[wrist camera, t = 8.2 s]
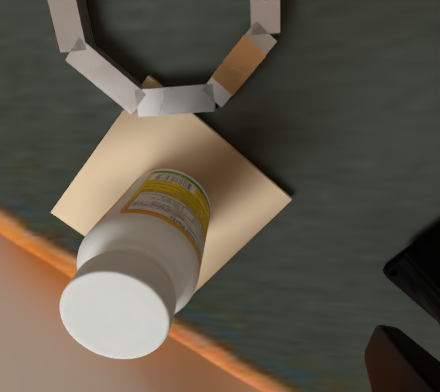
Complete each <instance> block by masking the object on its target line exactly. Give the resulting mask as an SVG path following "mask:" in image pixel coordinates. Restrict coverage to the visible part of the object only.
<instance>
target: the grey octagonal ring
mask: <svg viewBox="0 0 440 392" xmlns="http://www.w3.org/2000/svg"><path fill="white" fill-rule="evenodd" d="M48 3H49V7H50V12H51V16H52V20H53V24H54V28H55V32H56V36H57V40H58V45H59V49H60V53H69V55H68V56H67V58H66V61H67V62H68V63H69V64H70V65H72V66H73V67H74V68H75V69H77V70H78V71H79V72H80V73H81V74H83V75H84V76H85V77H86V78H88V79H89V80H90V81H91V82H92V83H94V84H95V85H96V86H97V87H99V88H100V89H101V90H102V91H103V92H105V93H106V94H107V95H108V96H110V97H111V98H112V99H113V100H114V101H116V102H117V103H118V104H119V105H120V106H122V107H123V108H124V109H125V110H127V111H128V112H129V113H130V114H131V115H132V114H134V113H136V111H137V110H138V116H139V117H145V116H158V115H172V114H186V113H199V112H213V111H215V110H216V103H217V104H218V105H219V106H220V107H221V108H222V107H223V106H224V104H225V103H226V102H227V101H228V100H229V98H230V97H231V96H233V95H234V94H235V93H236V91H237V90H238V89H239V88H240V87H241V85H242V84H243V83H244V82H245V81H246V79H247V78H248V77H249V76H250V75H251V74H252V72H253V71H254V70H255V69H256V68H257V66H258V65H259V64H260V63H261V62H262V60H263V59H264V58H265V57H266V54H267V53H268V52H269V51H270V49H271V48H272V47H273V46H274V45H275V43H276V42H277V41H276V40H275V39H274V38H273V37H272V36H274V35H278V34H279V33H280V0H249V12H250V29H249V31H248V32H247V33H246V34H245V35H243V37H242V38H241V39H240V41H239V42H238V43H237V44H236V46H235V47H234V48H233V49H232V51H231V52H230V53H229V54H228V56H227V57H226V58H225V60H224V61H223V62H222V63H221V65H220V66H219V67H218V68H217V70H216V71H215V72H214V73H213V75H212V76H211V79H210V80H209V81H208V82H207V83H206V84H194V85H181V86H169V87H161V88H148V89H144V88H143V87H142V86H141V85H142V84H141V83H140V82H139V81H138V80H136V79H135V78H134V77H133V76H132V75H131V74H129V73H128V72H127V71H126V70H125V69H124V68H122V67H121V66H120V65H119V64H118V63H116V62H115V61H114V60H113V59H112V58H111V57H109V56H108V55H107V54H106V53H105V52H104V51H102V50H101V49H100V48H99V47H98V46H97V45H95V42H94V37H93V33H92V28H91V23H90V18H89V13H88V8H87V3H86V0H48Z"/></svg>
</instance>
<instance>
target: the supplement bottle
mask: <svg viewBox="0 0 440 392" xmlns="http://www.w3.org/2000/svg"><path fill="white" fill-rule="evenodd" d="M210 213H211V207H210V202H209V199H208V196H207V194H206V192H205V190H204V189H203V187H202V186H201V185H200V184H199V183H198V182H197V181H196V180H195V179H194V178H192V177H191V176H189V175H187V174H186V173H183V172H181V171H178V170H173V169H157V170H153V171H150V172H148V173H146V174H144V175H142V176H141V177H139V178H138V179H137V180H136V181H135V182H134V183H133V184H132V185H131V186H130V187H129V188H128V190H127V191H126V192H125V193H124V194H123V195H122V196H121V197H120V198H119V200H118V201H117V202H116V203H115V204H114V205H113V206H112V207H111V208H110V209H109V210H108V212H107V213H106V214H105V215H104V216H103V217H102V218H101V219H100V220H99V221H98V222H97V223H96V224H95V225H94V227H93V228H92V229H91V230H90V231H89V232H88V234H87V235H86V236H85V238H84V240H83V241H82V243H81V246H80V248H79V252H78V256H77V272H76V274H75V275H74V277H73V278H72V279H71V281H70V282H69V283H68V285H67V286H66V288H65V290H64V291H63V293H62V296H61V300H60V313H61V318H62V321H63V323H64V325H65V327H66V329H67V330H68V332H69V333H70V334H71V335H72V337H73V338H74V339H75V340H76V341H77V342H79V343H80V344H81V345H83V346H84V347H85V348H87V349H89V350H91V351H92V352H95V353H97V354H99V355H102V356H106V357H110V358H116V359H132V358H138V357H141V356H144V355H146V354H149V353H151V352H152V351H154V350H155V349H157V348H158V347H159V346H160V345H161V344H162V343H163V341H164V340H165V338H166V337H167V335H168V333H169V330H170V327H171V324H172V320H173V316H174V314H175V313H176V312H178V311H179V310H180V309H182V308H183V307H184V306H185V305H186V304H187V303H188V301H189V300H190V298H191V297H192V295H193V294H194V291H195V289H196V287H197V283H198V280H199V275H200V269H201V264H202V258H203V253H204V248H205V242H206V237H207V231H208V226H209V221H210Z"/></svg>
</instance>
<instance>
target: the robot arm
mask: <svg viewBox="0 0 440 392" xmlns="http://www.w3.org/2000/svg"><path fill="white" fill-rule="evenodd" d="M392 270H394V272H392V273H390V272H391V271H392ZM383 272H384V274H385V275H386V277H387V278H388V279H389V280H391V281H392V282H393V283H394V284H395V285H396V286H397V287H399V288H400V289H401V290H402V291H403V292H404V293H405V294H407V295H408V296H409V297H410V298H411V299H412V300H414V301H415V302H416V303H417V304H418V305H419V306H420V307H422V308H423V309H424V310H425V311H426V312H427V313H428V314H430V315H431V316H432V317H433V318H434V319H435V320H437V322H438V323H439V324H440V225H438V226H437V227H436V228H434V229H433V230H432V231H430V232H429V233H428V234H427V235H425V236H424V237H423V238H421V239H420V240H419V241H417V242H416V243H415V244H413V245H412V246H411V247H410V248H408V249H407V250H406V251H404V252H403V253H402V254H400V255H399V256H398V257H396V258H395V259H394V260H392V261H391V262H390V263H389V264H387V265H386V266H385V267H384V269H383ZM365 364H366V368H367V372H368V377H369V381H370V385H371V389H372V392H440V362H439V361H438V360H437V359H436V358H434V357H433V356H432V355H431V354H429V353H428V352H427V351H426V350H424V349H423V348H422V347H421V346H419V345H418V344H417V343H416V342H414V341H413V340H412V339H411V338H409V337H408V336H407V335H406V334H405V333H403V332H402V331H401V330H399V329H398V328H396V327H391V326H385V325H378V326H377V327H376V328H375V330H374V332H373V334H372V336H371V339H370V341H369V343H368V345H367V348H366V350H365Z"/></svg>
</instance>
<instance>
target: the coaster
mask: <svg viewBox="0 0 440 392" xmlns="http://www.w3.org/2000/svg"><path fill="white" fill-rule="evenodd" d="M141 86H142V87H143V88H144V89H148V88H161V87H163V86H162V85H161V84H160V83H159V82H158V81H157V80H155V79H154V78H153V77H152V76H151V75H148V76H147V78H146V79H145V81H144V82H143V83H142V85H141ZM157 169H173V170H178V171H181V172H183V173H186V174H187V175H189V176H191V177H192V178H194V179H195V180H196V181H197V182H198V183H199V184H200V185H201V186H202V187H203V189H204V190H205V192H206V194H207V196H208V199H209V202H210V207H211V213H210V221H209V226H208V231H207V237H206V242H205V248H204V253H203V258H202V264H201V269H200V275H199V280H198V283H197V287H196V289H195V291H194V293H195V292H196V291H197V290H198V289H199V288H200V287H201V286H202V285H203V284H204V283H205V282H206V281H207V280H208V279H209V278H211V277H212V276H213V275H214V274H215V273H216V272H217V271H218V270H219V269H220V268H221V267H222V266H223V265H224V264H225V263H226V262H227V261H228V260H229V259H230V258H231V257H233V256H234V255H235V254H236V253H237V252H238V251H239V250H240V249H241V248H242V247H243V246H244V245H245V244H246V243H247V242H248V241H249V240H250V239H251V238H252V237H253V236H255V235H256V234H257V233H258V232H259V231H260V230H261V229H262V228H263V227H264V226H265V225H266V224H267V223H268V222H269V221H270V220H271V219H272V218H273V217H274V216H276V215H277V214H278V213H279V212H280V211H281V210H282V209H283V208H284V207H285V206H286V205H287V204H288V203H289V202H290V201H291V200H292V199H291V197H290V196H289V195H288V194H287V193H286V192H285V191H283V190H282V189H281V188H280V187H279V186H278V185H277V184H275V183H274V182H273V181H272V180H271V179H270V178H268V177H267V176H266V175H265V174H264V173H263V172H262V171H260V170H259V169H258V168H257V167H256V166H255V165H253V164H252V163H251V162H250V161H249V160H248V159H247V158H245V157H244V156H243V155H242V154H241V153H240V152H238V151H237V150H236V149H235V148H234V147H233V146H232V145H230V144H229V143H228V142H227V141H226V140H225V139H223V138H222V137H221V136H220V135H219V134H218V133H217V132H215V131H214V130H213V129H212V128H211V127H210V126H208V125H207V124H206V123H205V122H204V121H203V120H202V119H200V118H199V117H198V116H197V115H196V114H195V113H186V114H172V115H158V116H145V117H139V116H138V110H137V111H136V113H134V114H132V115H131V114H130V113H129V112H128V111H127V110H125V109H124V110H123V111H122V113H121V114H120V116H119V117H118V118H117V120H116V121H115V123H114V124H113V125H112V127H111V128H110V130H109V131H108V133H107V134H106V135H105V137H104V138H103V140H102V141H101V142H100V144H99V145H98V147H97V148H96V149H95V151H94V152H93V154H92V155H91V156H90V158H89V159H88V161H87V162H86V163H85V165H84V166H83V168H82V169H81V170H80V172H79V173H78V175H77V176H76V177H75V179H74V180H73V182H72V183H71V184H70V186H69V187H68V189H67V190H66V191H65V193H64V194H63V196H62V197H61V199H60V200H59V201H58V203H57V204H56V206H55V207H54V208H53V210H52V211H51V213H52V214H53V215H55V216H56V217H58V218H59V219H61V220H62V221H64V222H65V223H66V224H68V225H69V226H71V227H72V228H74V229H75V230H77V231H78V232H79V233H81V234H82V235H84V236H86V235H87V234H88V232H89V231H90V230H91V229H92V228H93V227H94V225H95V224H96V223H97V222H98V221H99V220H100V219H101V218H102V217H103V216H104V215H105V214H106V213H107V212H108V210H109V209H110V208H111V207H112V206H113V205H114V204H115V203H116V202H117V201H118V200H119V198H120V197H121V196H122V195H123V194H124V193H125V192H126V191H127V190H128V188H129V187H130V186H131V185H132V184H133V183H134V182H135V181H136V180H137V179H138V178H139V177H141V176H142V175H144V174H146V173H148V172H150V171H153V170H157Z"/></svg>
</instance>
